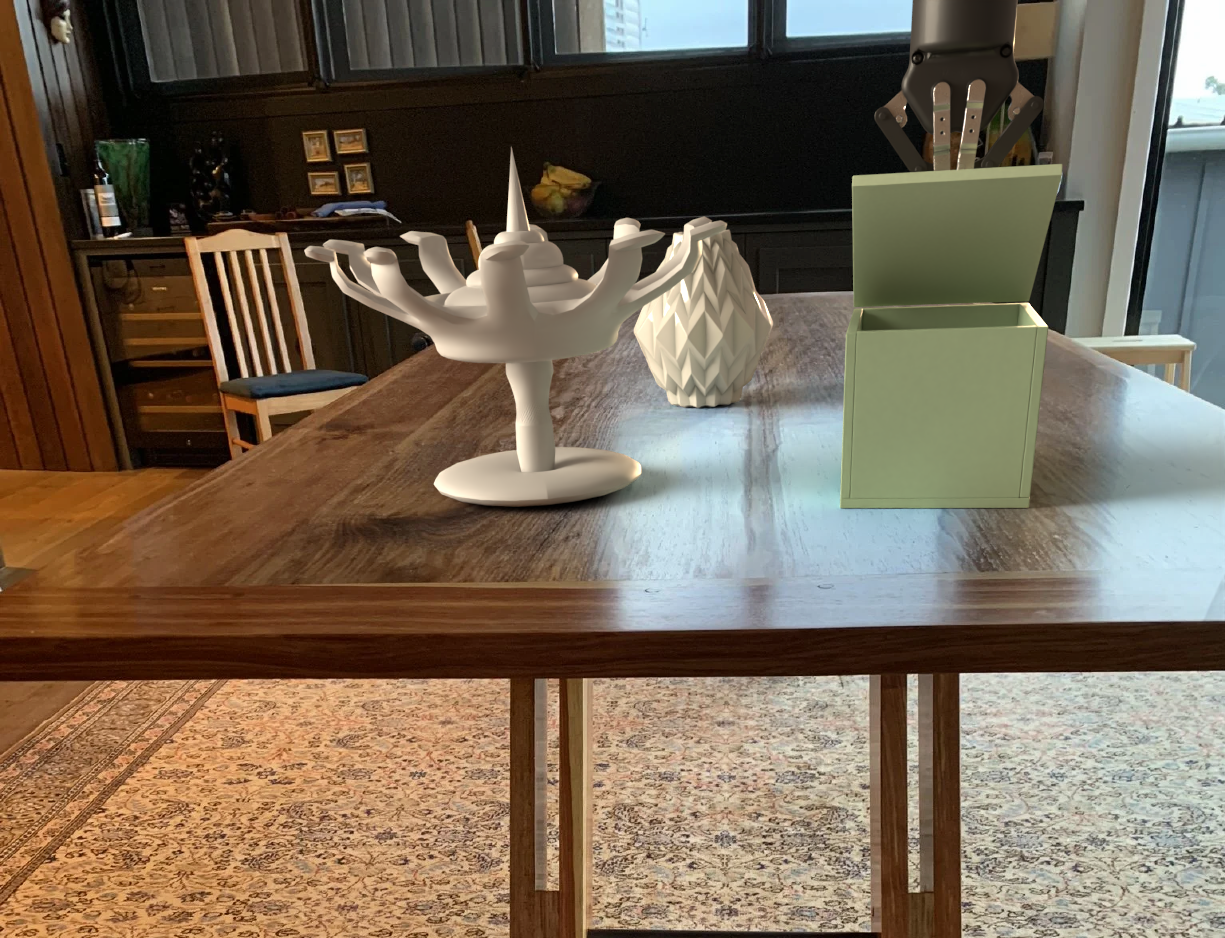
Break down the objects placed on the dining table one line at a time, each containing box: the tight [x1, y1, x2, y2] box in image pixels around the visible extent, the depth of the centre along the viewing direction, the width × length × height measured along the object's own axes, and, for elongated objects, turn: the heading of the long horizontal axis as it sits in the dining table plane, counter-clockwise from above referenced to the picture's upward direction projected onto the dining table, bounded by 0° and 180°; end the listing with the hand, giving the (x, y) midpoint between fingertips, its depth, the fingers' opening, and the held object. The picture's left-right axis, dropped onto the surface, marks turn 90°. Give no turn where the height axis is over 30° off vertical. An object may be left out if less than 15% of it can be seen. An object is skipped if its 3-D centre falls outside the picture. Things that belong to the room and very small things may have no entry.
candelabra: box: [304, 146, 728, 508], centre depth 104 cm, size 34×35×27 cm
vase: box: [633, 229, 774, 409], centre depth 141 cm, size 16×16×18 cm
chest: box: [839, 302, 1049, 509], centre depth 100 cm, size 17×15×13 cm
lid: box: [851, 163, 1063, 308], centre depth 96 cm, size 17×15×1 cm
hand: (948, 238), depth 96 cm, fingers closed
